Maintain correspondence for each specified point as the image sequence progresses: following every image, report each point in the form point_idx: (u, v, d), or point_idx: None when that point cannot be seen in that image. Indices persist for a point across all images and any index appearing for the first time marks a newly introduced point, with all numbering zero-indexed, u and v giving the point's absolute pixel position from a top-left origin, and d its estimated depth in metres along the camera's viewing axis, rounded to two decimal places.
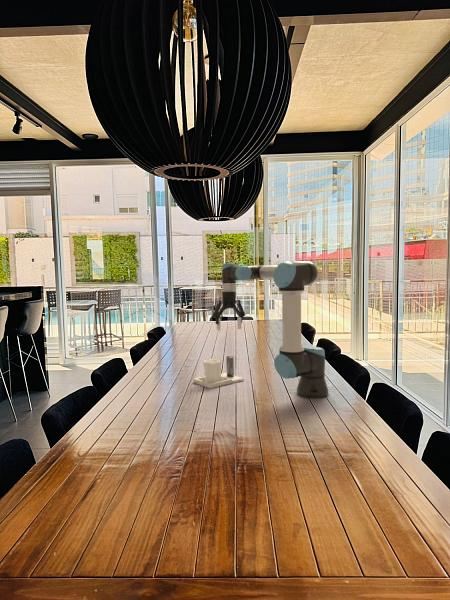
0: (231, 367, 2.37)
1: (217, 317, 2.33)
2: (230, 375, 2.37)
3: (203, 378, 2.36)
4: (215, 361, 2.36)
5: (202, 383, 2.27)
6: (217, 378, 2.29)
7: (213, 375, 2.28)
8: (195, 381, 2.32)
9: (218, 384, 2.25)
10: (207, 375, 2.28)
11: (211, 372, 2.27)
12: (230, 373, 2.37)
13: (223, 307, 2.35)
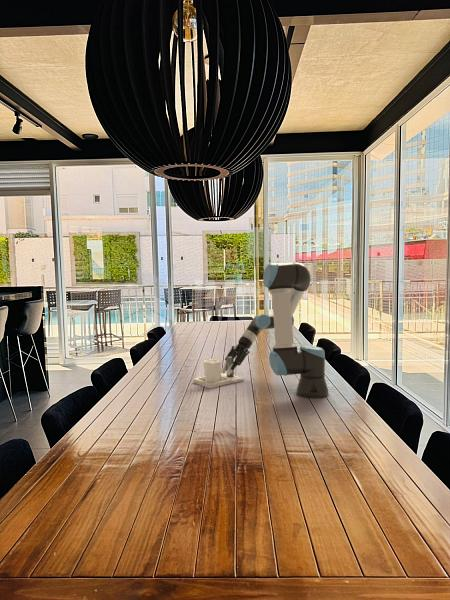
0: None
1: None
2: (230, 375, 2.37)
3: (203, 378, 2.36)
4: (215, 361, 2.36)
5: (202, 383, 2.27)
6: (217, 378, 2.29)
7: (213, 375, 2.28)
8: (195, 381, 2.32)
9: (218, 384, 2.25)
10: (207, 375, 2.28)
11: (211, 372, 2.27)
12: None
13: (234, 352, 2.43)
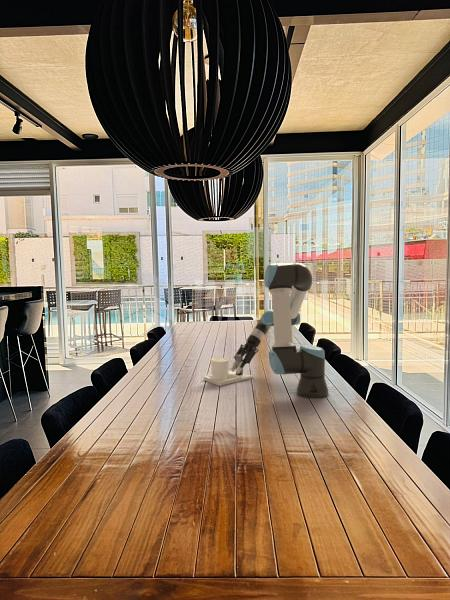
0: None
1: (235, 359, 2.46)
2: (239, 373, 2.41)
3: None
4: (222, 360, 2.38)
5: (212, 381, 2.31)
6: (224, 376, 2.31)
7: (220, 373, 2.30)
8: (205, 379, 2.36)
9: (228, 382, 2.29)
10: (214, 373, 2.31)
11: (218, 370, 2.30)
12: None
13: None
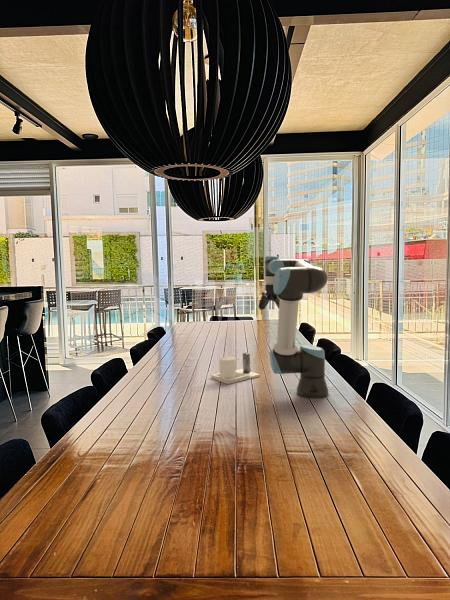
0: (247, 363, 2.44)
1: None
2: (246, 371, 2.45)
3: None
4: (231, 358, 2.41)
5: (220, 379, 2.34)
6: (231, 375, 2.34)
7: (228, 372, 2.33)
8: (213, 377, 2.39)
9: (236, 380, 2.32)
10: (222, 372, 2.34)
11: (225, 369, 2.33)
12: (246, 369, 2.45)
13: None
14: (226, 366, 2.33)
